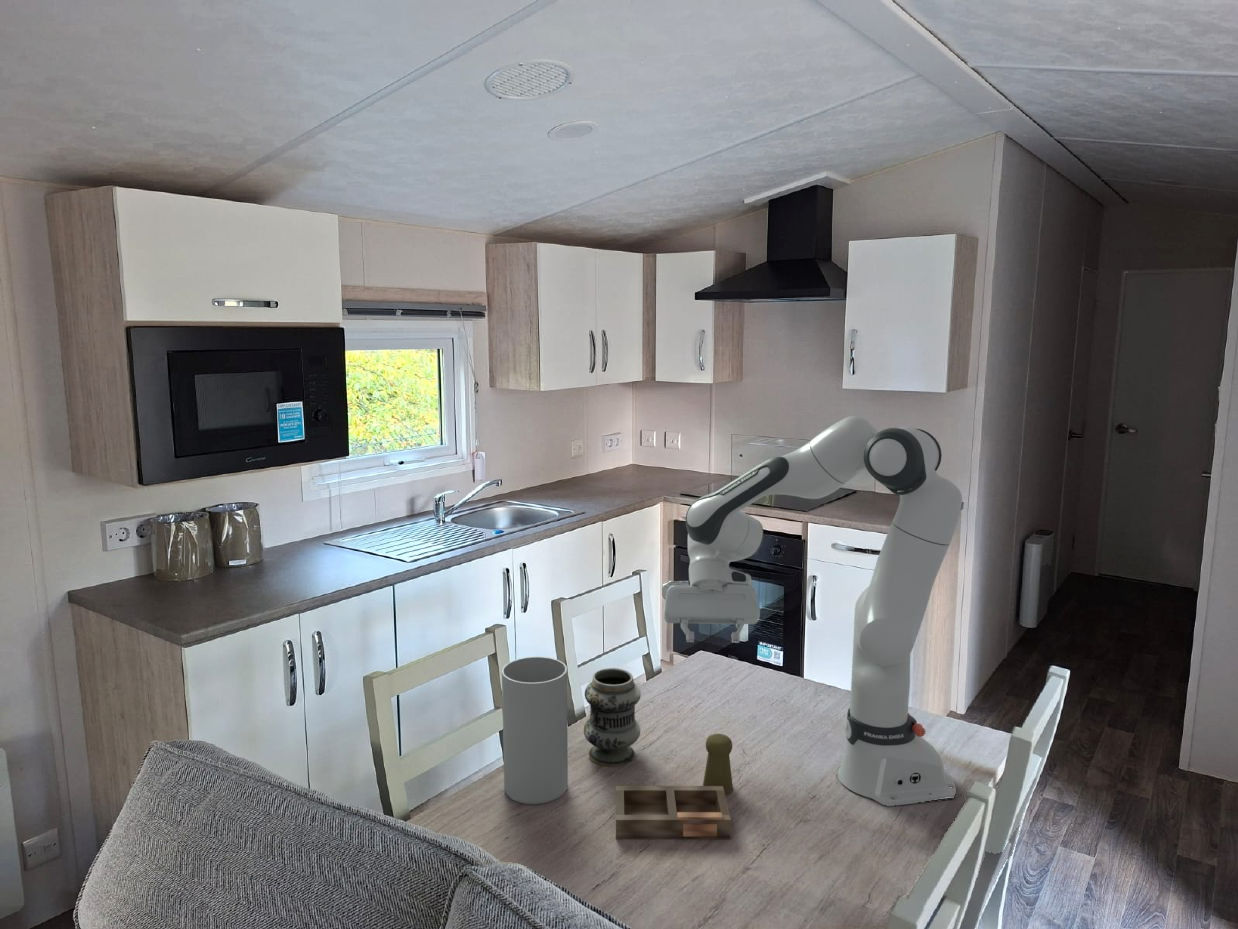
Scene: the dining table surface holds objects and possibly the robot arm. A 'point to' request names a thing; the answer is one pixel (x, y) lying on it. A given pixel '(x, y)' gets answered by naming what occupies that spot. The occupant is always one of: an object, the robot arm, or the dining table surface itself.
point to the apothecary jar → (612, 717)
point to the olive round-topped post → (718, 763)
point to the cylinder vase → (535, 729)
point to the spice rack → (672, 812)
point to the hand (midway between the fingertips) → (713, 641)
